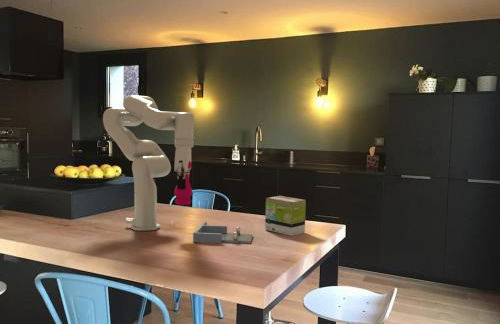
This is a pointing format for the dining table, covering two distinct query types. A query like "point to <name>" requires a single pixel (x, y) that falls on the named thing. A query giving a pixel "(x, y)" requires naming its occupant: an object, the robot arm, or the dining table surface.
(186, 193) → the pepper mill
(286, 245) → the dining table surface
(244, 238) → the base plate
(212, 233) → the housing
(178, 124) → the robot arm
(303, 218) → the tea box
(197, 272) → the dining table surface
